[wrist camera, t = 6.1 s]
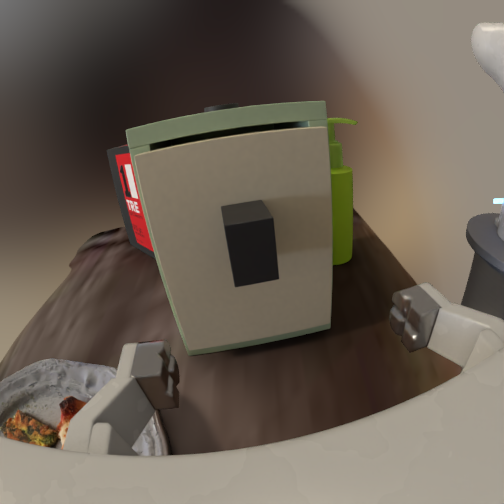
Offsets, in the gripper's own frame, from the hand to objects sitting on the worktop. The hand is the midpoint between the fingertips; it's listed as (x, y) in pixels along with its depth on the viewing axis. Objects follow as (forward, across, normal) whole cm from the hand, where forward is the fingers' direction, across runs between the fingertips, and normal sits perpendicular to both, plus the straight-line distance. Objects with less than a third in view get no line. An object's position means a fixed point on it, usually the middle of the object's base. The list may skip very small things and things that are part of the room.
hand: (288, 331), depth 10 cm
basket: (+18, 0, +13) cm, 22 cm away
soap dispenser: (+29, -14, +15) cm, 36 cm away
